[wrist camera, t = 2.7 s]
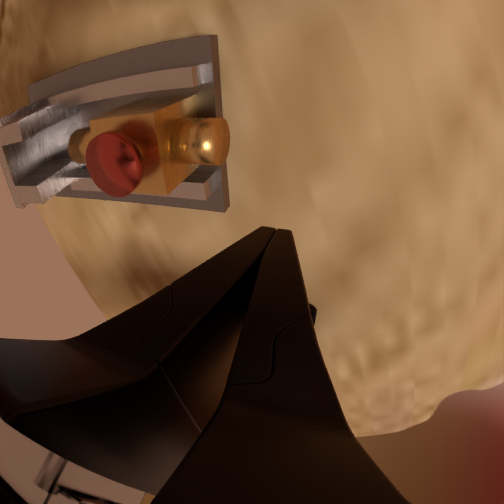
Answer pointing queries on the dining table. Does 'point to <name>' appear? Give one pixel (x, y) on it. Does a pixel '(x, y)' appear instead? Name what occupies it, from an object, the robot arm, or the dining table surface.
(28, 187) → the grey metal channel
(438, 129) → the dining table surface
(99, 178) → the valve
